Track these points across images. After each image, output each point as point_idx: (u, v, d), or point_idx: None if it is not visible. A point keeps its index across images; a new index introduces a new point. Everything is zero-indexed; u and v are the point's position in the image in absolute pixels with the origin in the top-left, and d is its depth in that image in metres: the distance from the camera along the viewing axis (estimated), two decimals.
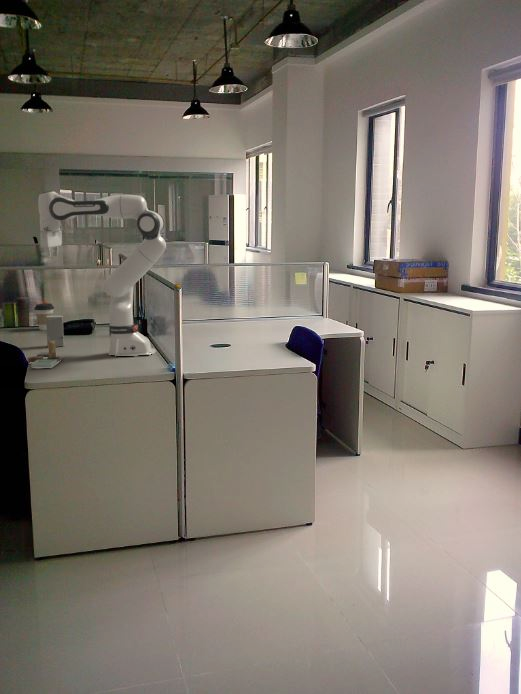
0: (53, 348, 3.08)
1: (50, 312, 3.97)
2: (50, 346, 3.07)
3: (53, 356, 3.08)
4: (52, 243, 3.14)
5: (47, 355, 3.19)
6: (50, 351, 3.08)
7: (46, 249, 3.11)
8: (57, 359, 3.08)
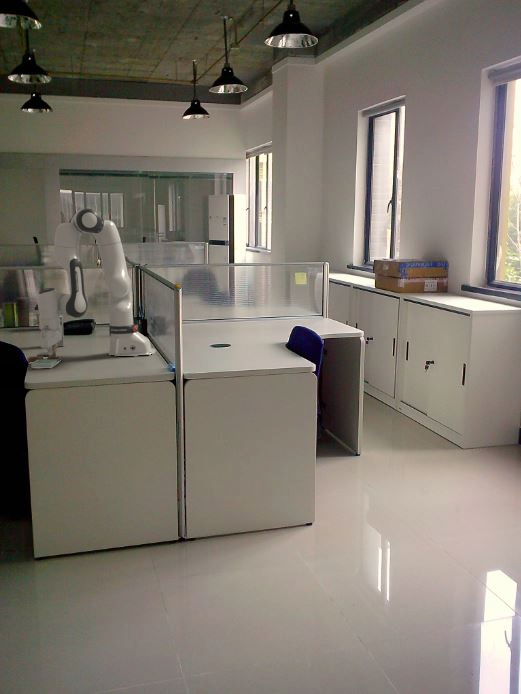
0: (53, 348, 3.08)
1: None
2: None
3: (53, 356, 3.08)
4: (52, 341, 3.05)
5: (47, 355, 3.19)
6: None
7: (48, 347, 3.05)
8: (57, 359, 3.08)
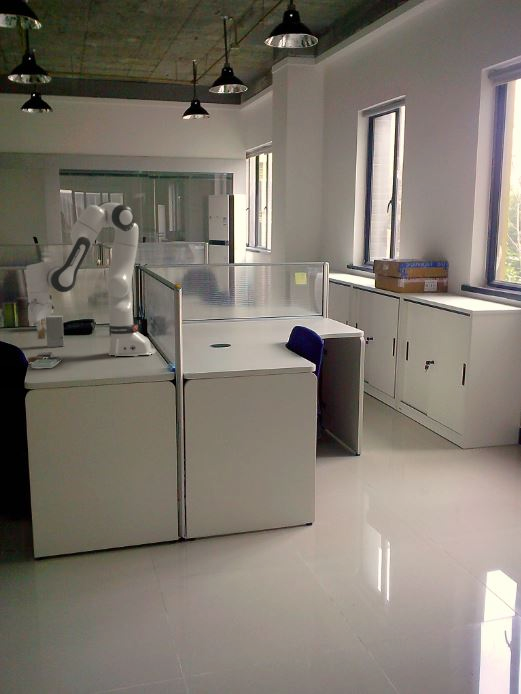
0: (42, 323, 2.97)
1: None
2: None
3: (42, 331, 2.98)
4: (41, 315, 2.94)
5: (48, 355, 3.19)
6: None
7: (36, 322, 2.94)
8: (57, 359, 3.08)
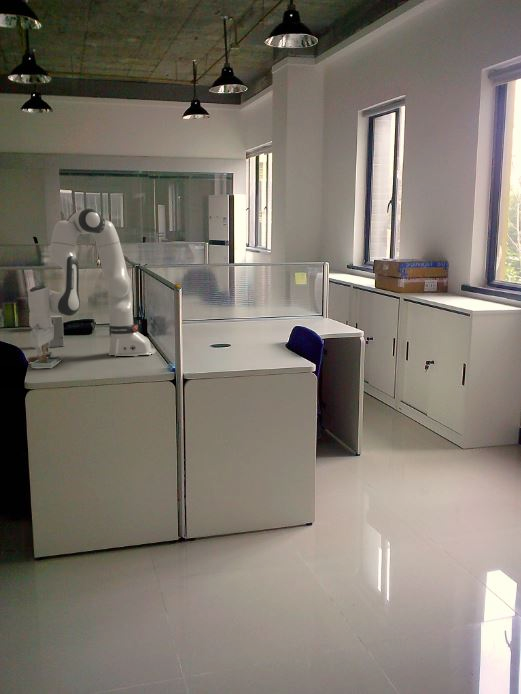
0: (43, 350, 3.00)
1: None
2: None
3: (44, 358, 3.00)
4: (43, 340, 2.96)
5: (48, 355, 3.19)
6: None
7: (37, 348, 2.94)
8: (57, 359, 3.08)
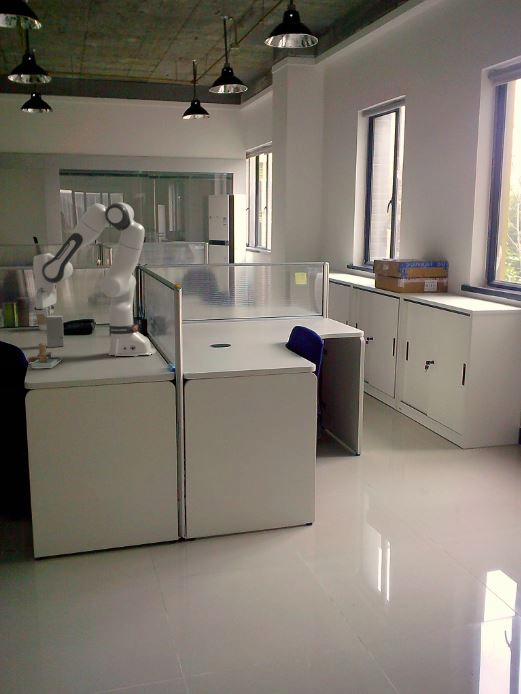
0: (44, 350, 3.00)
1: None
2: (41, 348, 2.99)
3: (44, 358, 3.00)
4: (47, 303, 3.21)
5: (48, 355, 3.19)
6: (41, 353, 3.00)
7: (43, 308, 3.21)
8: (57, 359, 3.08)
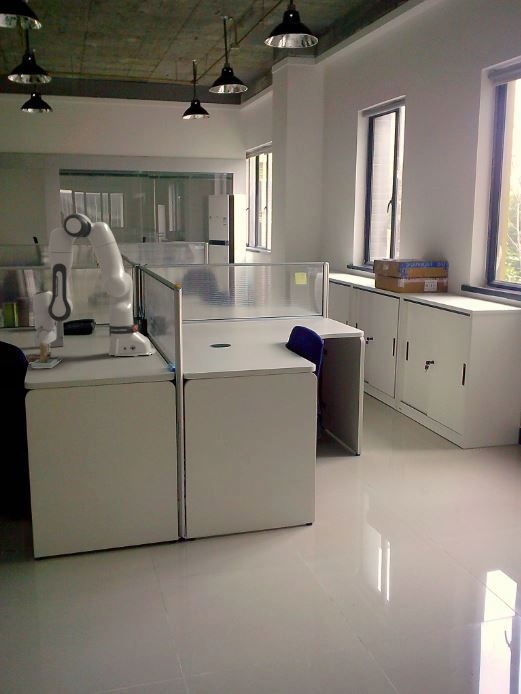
0: (45, 350, 3.00)
1: None
2: (42, 348, 2.99)
3: (45, 359, 3.00)
4: (47, 341, 3.19)
5: (48, 355, 3.18)
6: (42, 353, 3.00)
7: None
8: (57, 359, 3.08)
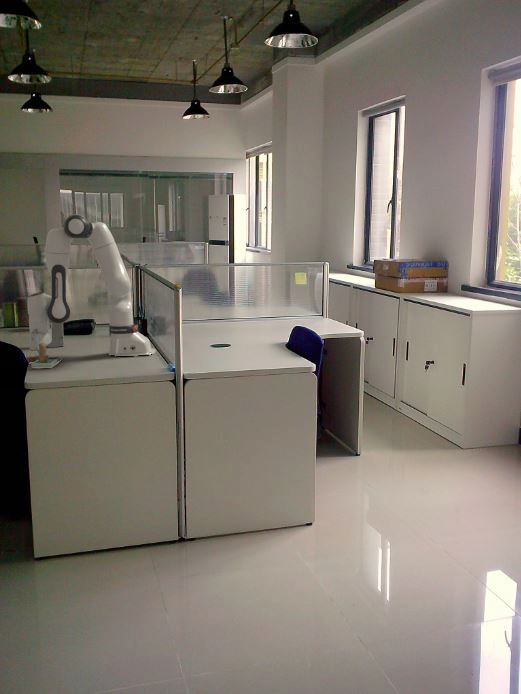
0: (44, 351, 3.00)
1: None
2: (41, 349, 2.99)
3: (45, 359, 3.00)
4: None
5: None
6: (41, 354, 2.99)
7: (38, 349, 3.14)
8: (57, 359, 3.08)
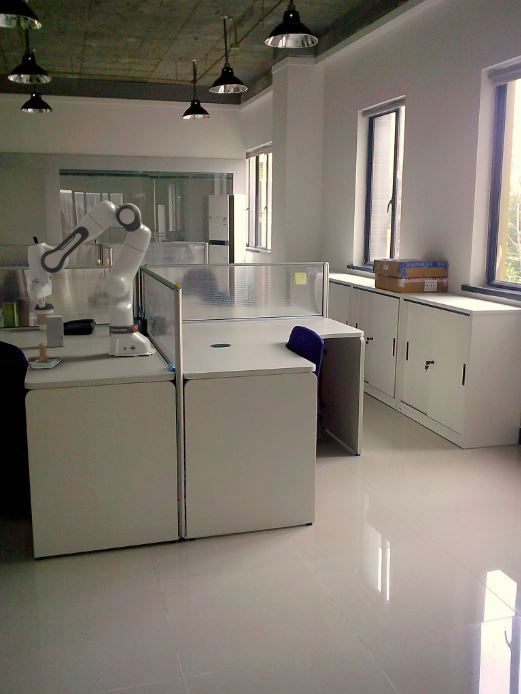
0: (45, 351, 2.99)
1: (50, 312, 3.97)
2: (42, 349, 2.98)
3: (45, 359, 3.00)
4: (42, 294, 3.14)
5: None
6: (42, 354, 2.99)
7: (38, 299, 3.15)
8: (57, 359, 3.08)
